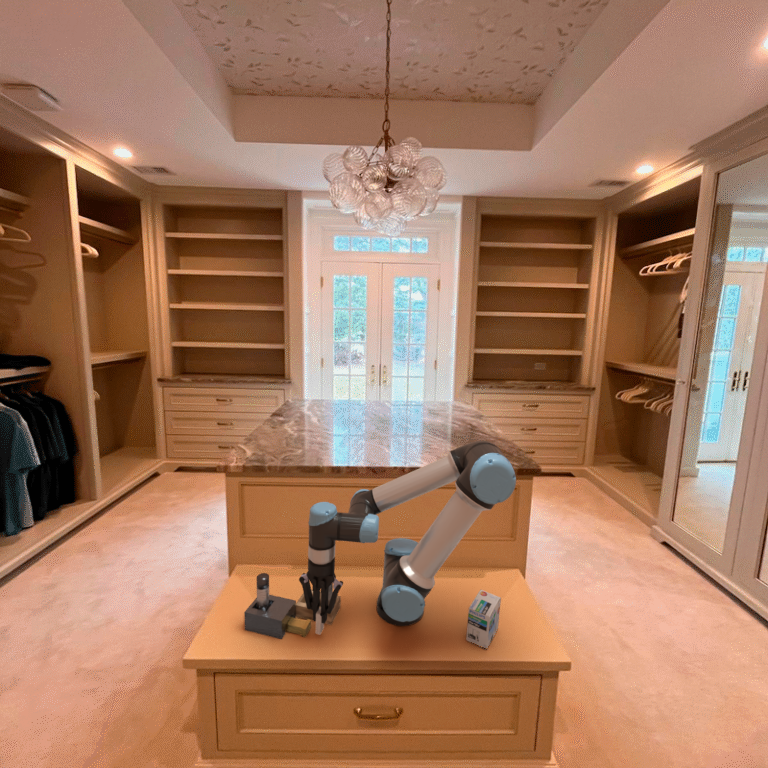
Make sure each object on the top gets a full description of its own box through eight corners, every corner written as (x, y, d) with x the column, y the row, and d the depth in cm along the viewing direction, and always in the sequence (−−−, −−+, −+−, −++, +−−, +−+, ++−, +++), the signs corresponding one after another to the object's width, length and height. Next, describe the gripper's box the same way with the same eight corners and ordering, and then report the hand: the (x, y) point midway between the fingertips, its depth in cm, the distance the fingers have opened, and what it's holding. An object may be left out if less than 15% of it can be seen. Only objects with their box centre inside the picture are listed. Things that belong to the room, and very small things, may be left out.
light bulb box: (487, 651, 120) (490, 617, 118) (465, 640, 124) (467, 608, 122) (498, 628, 129) (501, 596, 127) (477, 619, 133) (480, 588, 131)
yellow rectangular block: (311, 627, 126) (311, 619, 125) (305, 637, 122) (305, 629, 122) (277, 619, 129) (277, 611, 128) (270, 628, 125) (270, 620, 124)
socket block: (295, 617, 130) (295, 600, 129) (281, 639, 121) (281, 620, 120) (260, 609, 133) (260, 592, 132) (244, 630, 124) (244, 611, 123)
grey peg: (271, 609, 128) (271, 574, 126) (265, 618, 125) (265, 581, 123) (261, 607, 129) (260, 572, 127) (254, 615, 126) (254, 579, 124)
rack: (340, 607, 135) (341, 576, 133) (331, 624, 128) (332, 592, 126) (306, 599, 138) (306, 569, 136) (295, 616, 130) (295, 584, 129)
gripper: (347, 554, 121) (345, 626, 125) (306, 546, 124) (304, 617, 128) (338, 569, 114) (336, 645, 118) (294, 560, 117) (293, 635, 121)
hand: (319, 630), depth 123 cm, fingers closed
